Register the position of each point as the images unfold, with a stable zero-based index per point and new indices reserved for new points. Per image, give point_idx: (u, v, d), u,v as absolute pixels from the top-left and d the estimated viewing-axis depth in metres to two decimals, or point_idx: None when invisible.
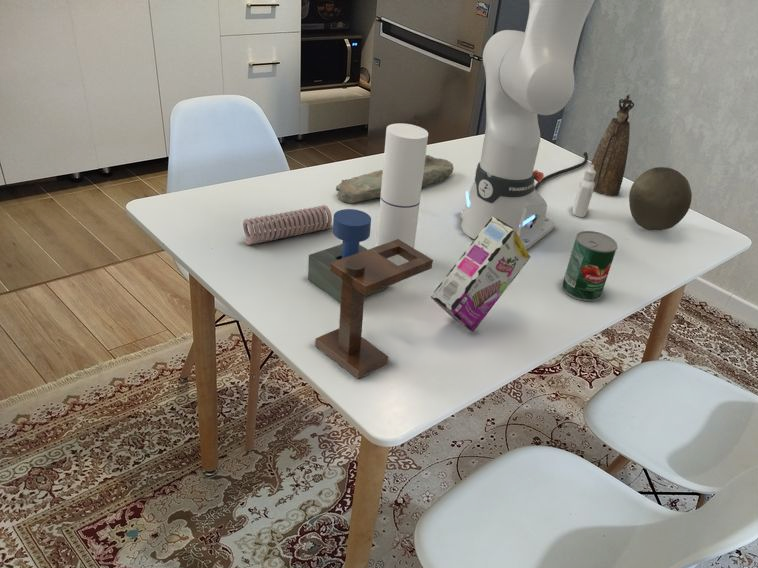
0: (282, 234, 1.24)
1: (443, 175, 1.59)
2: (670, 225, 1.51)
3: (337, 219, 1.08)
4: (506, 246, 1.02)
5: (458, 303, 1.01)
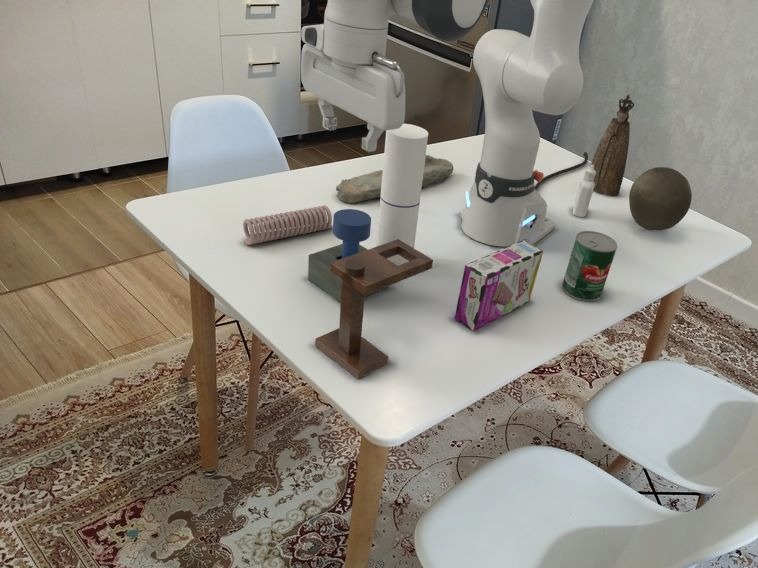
0: (282, 234, 1.24)
1: (443, 175, 1.59)
2: (670, 225, 1.51)
3: (337, 219, 1.08)
4: (533, 261, 1.14)
5: (492, 276, 1.06)
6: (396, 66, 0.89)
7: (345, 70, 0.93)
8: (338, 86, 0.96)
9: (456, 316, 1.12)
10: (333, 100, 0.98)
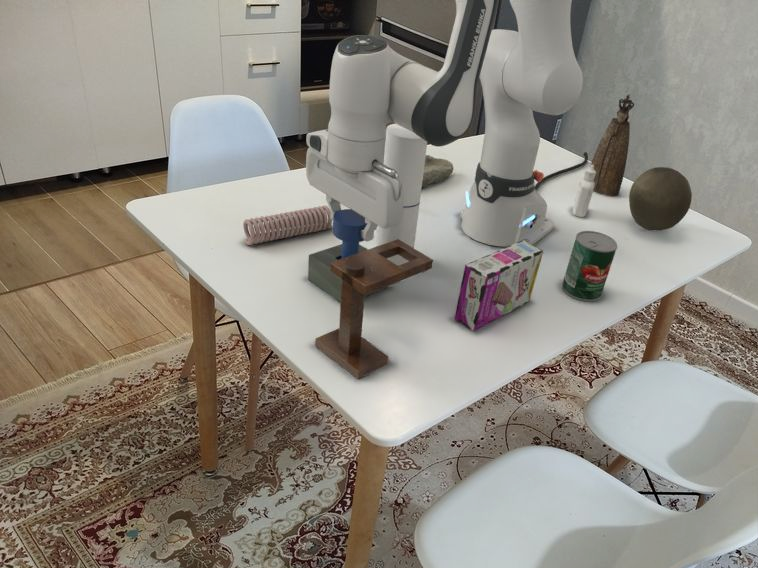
0: (282, 234, 1.24)
1: (443, 175, 1.59)
2: (670, 225, 1.51)
3: (337, 219, 1.08)
4: (533, 261, 1.14)
5: (492, 276, 1.06)
6: (394, 174, 0.98)
7: (348, 175, 1.02)
8: (341, 186, 1.05)
9: (456, 316, 1.12)
10: (336, 197, 1.07)
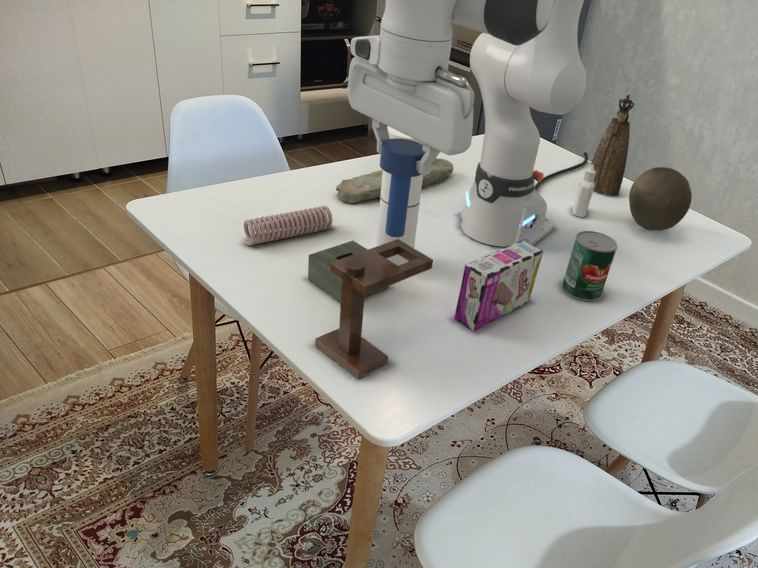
0: (283, 235, 1.24)
1: (443, 175, 1.59)
2: (670, 225, 1.51)
3: (386, 148, 0.87)
4: (533, 261, 1.14)
5: (492, 276, 1.06)
6: (465, 83, 0.78)
7: (404, 88, 0.81)
8: (393, 104, 0.85)
9: (456, 316, 1.12)
10: (387, 120, 0.87)
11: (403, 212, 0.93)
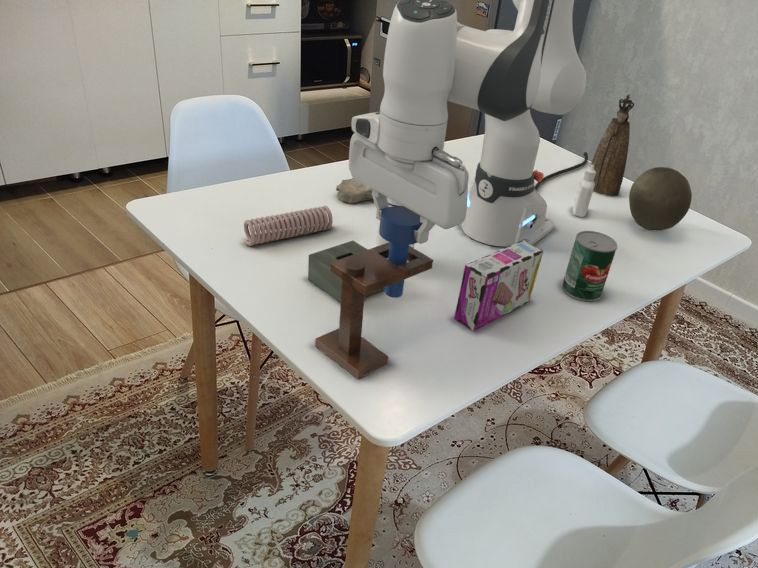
0: (283, 235, 1.24)
1: None
2: (670, 225, 1.51)
3: (386, 218, 0.92)
4: (533, 261, 1.14)
5: (492, 276, 1.06)
6: (460, 164, 0.83)
7: (402, 166, 0.86)
8: (392, 178, 0.89)
9: (456, 316, 1.12)
10: (386, 192, 0.91)
11: None
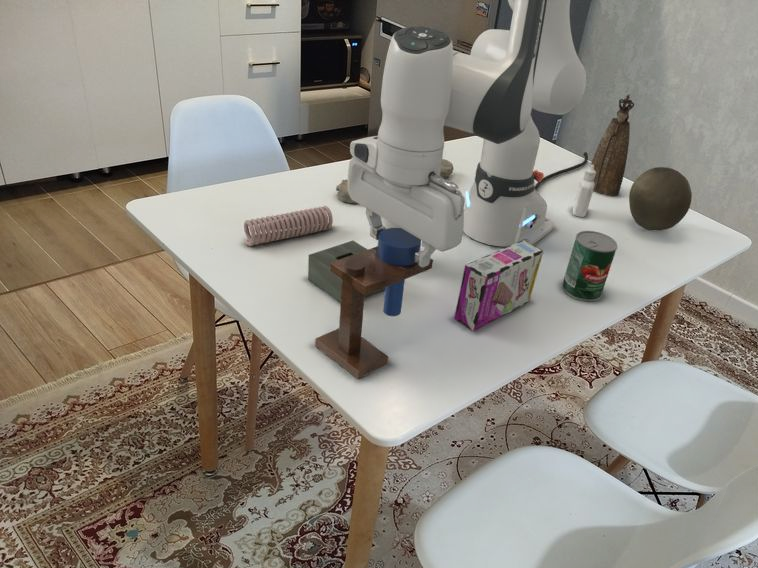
0: (283, 235, 1.23)
1: (443, 175, 1.59)
2: (670, 225, 1.51)
3: (383, 240, 0.94)
4: (533, 261, 1.14)
5: (492, 276, 1.06)
6: (456, 189, 0.85)
7: (400, 190, 0.88)
8: (390, 201, 0.91)
9: (456, 316, 1.12)
10: (384, 214, 0.93)
11: (399, 294, 1.00)
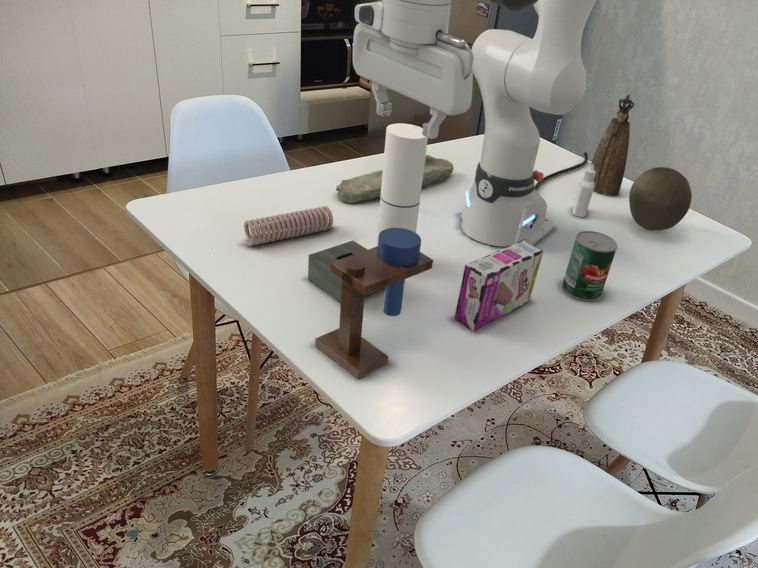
0: (283, 235, 1.23)
1: (443, 175, 1.59)
2: (670, 225, 1.51)
3: (383, 240, 0.94)
4: (533, 261, 1.14)
5: (492, 276, 1.06)
6: (464, 45, 0.82)
7: (406, 51, 0.86)
8: (396, 68, 0.89)
9: (456, 316, 1.12)
10: (390, 84, 0.91)
11: (399, 294, 1.00)
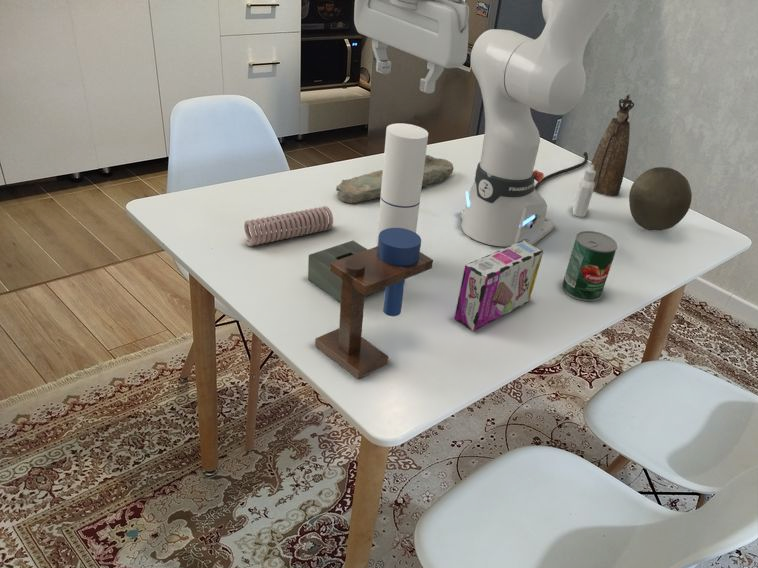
0: (283, 235, 1.23)
1: (443, 175, 1.59)
2: (670, 225, 1.51)
3: (383, 240, 0.94)
4: (533, 261, 1.14)
5: (492, 276, 1.06)
6: None
7: (406, 6, 0.90)
8: (396, 24, 0.93)
9: (456, 316, 1.12)
10: (390, 40, 0.95)
11: (399, 294, 1.00)
